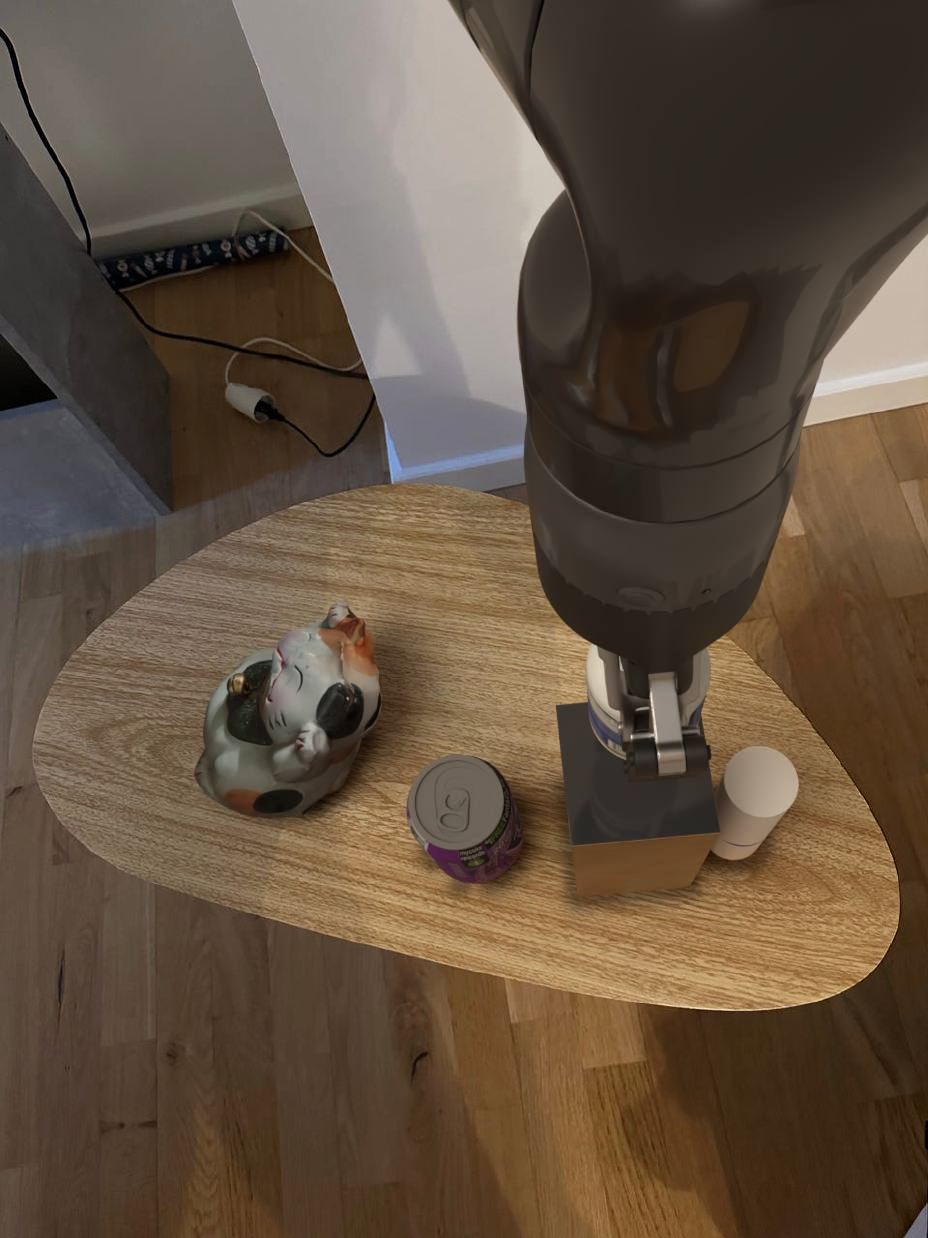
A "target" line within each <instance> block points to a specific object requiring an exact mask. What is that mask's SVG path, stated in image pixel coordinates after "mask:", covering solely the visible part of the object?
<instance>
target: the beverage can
mask: <svg viewBox="0 0 928 1238" xmlns="http://www.w3.org/2000/svg"><path fill="white" fill-rule="evenodd" d="M405 806H406V807H405V812H406V820H407V825H408V827H409V830H410V832H411V835H412V836H413V838H414V840H415V841H416V842H417V844H418V845H419V847H421V849H422V850H424V852H425V853H426V854H427V855H428V856H429V858H430V859H431V860H432V861H433V862H434V863H435V864H436V866H437V867H438V868H439V869H440V870H441V871H442V872H443V873H445V874H446V875H447V876H449V877H450V878H452V879H454V880H456V881H459V882H461V883H466V884H483V883H488V882H491V881H493V880H496V879H497V878H500V877H501V876H503V875H504V874H505V873H507V872H508V871H509V870H510V869H511V868H512V867H513V866H514V864H515V862H516V861H517V859H518V857H519V855H520V853H521V851H522V847H523V842H524V826H523V821H522V818H521V815H520V812H519V809H518V806H517V804H516V801H515V798H514V796H513V792H512V790H511V787H510V785H509V783H508V781H507V780H506V777H505V776H504V775H503V774H502V772H501V771H500V770H499V769H498V768H497V767H495V766H494V765H493V764H492V763H490V762H488V761H487V760H485V759H483V758H481V757H478V756H475V755H471V754H462V753H454V754H453V753H452V754H447V755H442V756H440V757H438V758H435V759H434V760H432V761H430V762H429V763H427V764H426V765H425V766H424V767H423V768H422V769H421V770H420V771H419V772H418V773H417V775H416V776H415V778H414V780H413V782H412V784H411V786H410V789H409V791H408V795H407V798H406V805H405Z"/></svg>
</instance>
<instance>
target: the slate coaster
mask: <svg viewBox="0 0 928 1238" xmlns="http://www.w3.org/2000/svg"><path fill="white" fill-rule="evenodd" d="M555 713H556V721H557V733H558V740H559V749H560V760H561V768H562V769H561V770H562V778H563V787H564V788H563V789H564V796H565V797H564V798H565V805H566V814H567V815H566V816H567V825H568V834H569V835H568V836H569V843H570V848H571V847H578V846H589V845H600V844H611V843H623V842H634V841H645V840H656V839H667V838H678V837H689V836H701V835H712V834H720V826H719V819H718V813H717V807H716V801H715V795H714V793H715V790H714V784H713V778H712V771H711V765H710V764H709V770H708V771H706V772H704V773H701V774H699V775H697V776H695V777H690V778H680V779H668V780H657V781H646V782H635V783H629V780H628V774H624V769H623V761H626V760H625V759H622V758H620V757H618V756H616V755H614V754H613V753H611V752H610V751H609V750H608V749H607V748H605V747H604V746H603V745H602V743H601V742H600V741H599V739H598V738H597V736H596V735H595V733H594V731H593V728H592V726H591V722H590V718H589V712H588V701H583V702H575V703H574V702H573V703H564V704H555ZM698 726H699V729H700V735H704V736H705V737H706V735H705V728H704V722H703V716H702V714H701V715H700V720H699V723H698Z"/></svg>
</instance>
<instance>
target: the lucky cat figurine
mask: <svg viewBox="0 0 928 1238" xmlns="http://www.w3.org/2000/svg"><path fill="white" fill-rule="evenodd" d="M379 676H380V671H379V669H378V666H377V665H376V663H375V645H374V641H373V638H372V636H371V632H370V631H369V630H368V628H367V626H366V622H365V620H364V618H363V617H358V616H357V615H356V614H355V613H354V612H353V611H352V610H351V609H350V606H349V605H348V603H347V601H345V600H344V601H342V600H339V599H338V598H337V599H335V603H333V604H332V605H331V606H330V608H329V609H328V612H327V616H326V617H325V618H321V619H319V620H316V621H314V622H313V623H311V625H310V626H307V627H300V628H297V629H293V630H288V631H287V632H286V633H285V634H284V635H283V636H281V637H280V638H279V640H278V642H277V645H276V647H274V646H273V647H265V648H259V649H258V650H257V649H256V651H254V652H252V653H251V654H248V655H247V656H246V657H245V658H244V659H243V660H242V661H241V662H240V663H239V665H238V667H237V668H236V669H235V670H234V671H233V672H232V673H227V674H225V675H223V677H222V680H221V683H220V684H219V685H218V687H216V689H214V691H213V693H212V695H211V697H210V698H209V700H208V702H207V705H206V708H205V715H204V719H203V725H202V738H203V744H204V748H203V749H204V750H203V752H202V754H201V755H200V757H199V759H198V760H197V762H196V765H195V768H194V771H193V777H194V779H195V780H196V782H197V785H198V786H199V788H200V790H202V792H203V793H204V794H205V795H206V796H207V797H209V798H210V799H212V800H213V801H215V802H216V803H218V805H221V806H222V807H225V808H227V809H228V810H230V811H233V812H235V813H237V814H238V813H239V814H240V815H243V816H246V817H252V818H258V819H259V818H260V819H279V818H282V819H284V818H294V819H295V818H304V817H305V816H306V814H308V813H309V811H311V809H312V808H313V807H315V805H316V804H317V803H318V802H320V801H321V800H322V799H324V798H326V797H328V796H331V795H333V794H334V793H336V792H337V791H338V790H340V789H341V788H342V787H343V786H344V785H345V783H346V782H347V781H346V780H347V778H348V776H349V774H350V771H351V767H352V765H353V763H354V760H355V758H356V757H357V755H358V753H359V750H360V747H361V743H362V739H364V738H365V737H366V736H368V734H370V732H371V731H372V730H373V729H374V727H375V725H376V723H377V721H378V719H379V717H380V716H381V712H382V707H383V706H382V705H383V697H382V693H381V687H380V682H379V679H380V677H379Z"/></svg>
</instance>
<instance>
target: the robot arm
mask: <svg viewBox="0 0 928 1238" xmlns="http://www.w3.org/2000/svg"><path fill="white" fill-rule="evenodd" d="M447 2H448V3H449V5H450V7H451V9H452V11H453V12H454V14H455V16H456V17H457V19H458V20H459V22H460V23H461V25H462V26H463V28H464V30H465V31H466V33H467V35H468V36H469V38H470V39H471V40H472V43H473V44H474V45H475V46H476V49H477V50H478V52H479V53H480V55H481V56H482V58H483V59H484V61H485V62H486V64H487V65H488V68H489V69H490V70H491V72H492V73H493V75H494V76H495V79H496V80H497V81H498V83H499V84H500V86H501V87H502V89H503V91H504V92H505V94H506V95H507V97H508V98H509V100H510V101H511V103H512V105H513V106H514V107H515V109H516V111H517V112H518V115H519V116H520V117H521V119H522V120H523V122H524V124H525V125H526V126H527V128H528V130H529V132H530V133H531V134H532V136H533V137H534V139H535V140H536V142H537V144H538V145H539V146H540V148H541V150H542V152H543V154H544V156H545V158H546V160H547V161H548V163H549V165H550V166H551V168H552V169H553V171H554V173H555V174H556V176H557V177H558V179H559V180H560V182H561V184H562V185H563V187H564V189H563V190H562V191H561V192H560V193H559V194H558V195H557V197H556V198H555V200H554V201H553V202H551V204H550V205H549V206H548V207H547V209H546V210H545V212H544V213H543V214H542V216H541V217H540V219H539V221H538V223H537V224H536V227H535V229H534V231H533V233H532V235H531V237H530V238H529V240H528V242H527V246H526V249H525V253H524V257H523V260H522V264H521V267H520V271H519V276H518V287H517V288H518V289H517V302H516V303H517V304H516V336H517V349H518V360H519V363H520V371H521V379H522V387H523V395H524V406H525V413H526V424H525V430H524V441H523V472H524V480H525V481H524V483H525V489H526V495H527V503H528V510H529V517H530V526H531V531H532V539H533V545H534V555H535V561H536V568H537V574H538V577H539V582H540V585H541V587H542V590H543V592H544V595H545V597H546V599H547V601H548V602H549V605H550V606H551V607H552V609H553V610H554V612H555V613H556V615H557V616H558V617H559V618H560V619H561V620H562V622H563V623H564V624H565V625H566V626H567V627H568V628H569V629H571V630H572V631H573V632H574V633H575V634H576V635H577V636H579V637H581V638H582V639H584V640H586V641H587V642H589V643H590V644H591V643H592V644H594V645H596V646H597V650H598V656H599V658H600V659H601V660H603V661H604V674H605V684H606V691H607V698H608V705H609V706H610V708H612V709H614V710H618V711H620V721H617V727H618V734H620V737H621V745H622V751H623V752H626V761H623V769H624V774H628V780H629V783H635V782H646V781H657V780H668V779H680V778H690V777H695V776H697V775H699V774H701V773H704V772H706V771H708V770H709V765H710V760H713V759H712V758H713V757H712V748H711V745H710V744H707V738H706V735H705V736H704V735H700V729H699V726H698V725H697V724H696V725H688V721H687V715H686V707H687V705H689V704H690V703H693V702H695V701H696V700H697V699H698V698H699V695H700V665H701V653H702V651H703V650H704V649H706V647H707V648H708V647H710V646H711V645H712V644H714V643H715V642H717V641H719V640H720V639H721V638H722V637H724V636H725V635H726V634H728V632H730V631H731V630H733V628H734V627H736V626H737V624H739V622H740V621H741V620H742V619H743V618H744V617H745V615H746V614H747V613H748V611H749V610H750V608H751V607H752V605H753V604H754V602H755V600H756V598H757V597H758V596H757V595H758V593H759V591H760V589H761V585H762V583H763V580H764V577H765V574H766V571H767V568H768V567H769V566H768V565H769V562H770V560H771V557H772V554H773V551H774V547H775V545H776V542H777V539H778V536H779V533H780V530H781V527H782V524H783V522H784V518H785V516H786V513H787V510H788V506H789V504H790V501H791V498H792V494H793V491H794V488H795V484H796V479H797V475H798V469H799V462H800V453H801V436H802V431H803V427H804V424H805V421H806V418H807V415H808V412H809V408H810V406H811V403H812V399H813V397H814V393H815V390H816V387H817V384H818V382H819V379H820V375H821V372H822V369H823V366H824V362H825V360H826V358H827V357H828V355H829V354H830V353H831V352H832V350H833V349H834V348H835V346H837V344H838V343H839V341H840V340H841V339H842V337H844V335H845V334H846V333H847V331H848V330H849V329H850V327H851V326H852V325H853V324H854V323H855V321H856V320H858V318H859V316H860V315H861V314H862V313H863V312H864V311H865V309H866V308H867V307H868V305H870V303H871V301H872V300H873V299H874V298H875V296H877V294H878V292H879V291H881V289H882V287H883V286H884V285H885V283H886V282H887V281H888V280H889V278H891V276H892V275H893V274H894V272H896V270H897V269H898V268H899V267H900V266H901V264H903V263H904V261H905V260H906V259H907V258H908V257H909V255H910V254H911V253H912V252H913V251H914V249H915V248H917V246H918V245H919V244H921V242H922V241H923V240H924V239H925V238H926V237H927V236H928V0H447ZM619 656H620V659H619ZM620 661H621V664H622V667H623V671H622V670H620ZM642 707H649V709H646V710H637V709H638V708H642ZM635 710H636V711H635Z"/></svg>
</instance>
